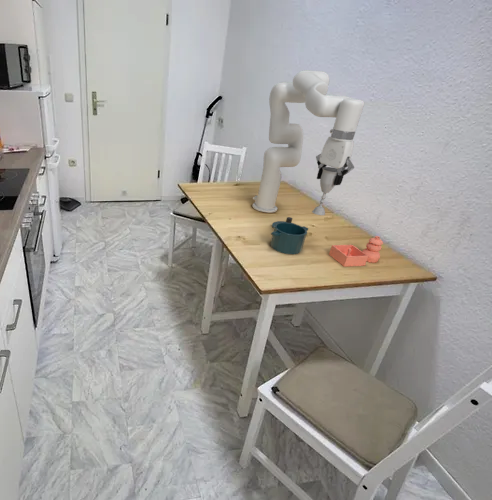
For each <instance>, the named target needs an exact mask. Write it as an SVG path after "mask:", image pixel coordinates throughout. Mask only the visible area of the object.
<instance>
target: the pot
mask: <svg viewBox="0 0 492 500" xmlns="http://www.w3.org/2000/svg"><path fill="white" fill-rule="evenodd" d="M308 231H309V228H308V227H307V226H306V225H305V226H302V225H299V224H297V225H296V223H294V224H293V222H291V223H284V222H282V223H277V224H275V227H274V228H273V231H271V232H270V235H271V239H270V243H269V244H270V247H271V248H272V249H273V250H274V251H276V252H279V253H282V254H286V255H299V254H300V253H302V251H303V249H304V245H305V241H306V237H307V235H308Z"/></svg>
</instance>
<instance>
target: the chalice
mask: <svg viewBox="0 0 492 500" xmlns="http://www.w3.org/2000/svg"><path fill="white" fill-rule="evenodd" d="M322 169H323V172H322V176H321V179H319V184H320V190H321V192H322V196H321V199H320V200H319V205H318V206H315V207H314V209H313V210H312V211H311V213H312V214H314V215H317V216H325V215H326V210H325V207H323V204H324V203H325V199H326V195H327V194H329V193H330V192H331V191H332V190H333V189H334V188H335V185H334V181H335V178H336V175H338V169H337V168H334V167H331V166H326V167H323V168H322Z"/></svg>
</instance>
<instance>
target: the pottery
mask: <svg viewBox="0 0 492 500" xmlns="http://www.w3.org/2000/svg"><path fill="white" fill-rule="evenodd" d="M383 244H384V242H383V240H382V239H381V236H379V235H375V236H374V237H370V238H369V239H368V242H367V243H366V245H365V247H366V248H364V249H363V250H361V249H359V248H358V247H356V246H355V245H353V244H332V245H331V247H330V250H329V252H328V255H329V256H330V257H331V258H333V260H335V261H336V262H338V264H340V265H341V266H343V267H361V266H362V267H363V266H366V263H367V262H369V263H377V262H378V261H379V260H380V258H381V253H380V251H381V250H382V248H383V247H382V245H383Z"/></svg>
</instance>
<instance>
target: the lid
mask: <svg viewBox="0 0 492 500" xmlns="http://www.w3.org/2000/svg"><path fill="white" fill-rule="evenodd" d="M282 222H284V223H293V218H292V217H290V216H287V217H286V219H285V221H284V220H277V221H274V222H272V224H271V227H272V229H274V227H275V224H277V223H282ZM293 224H296V223H293ZM296 225H298V224H296Z"/></svg>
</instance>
